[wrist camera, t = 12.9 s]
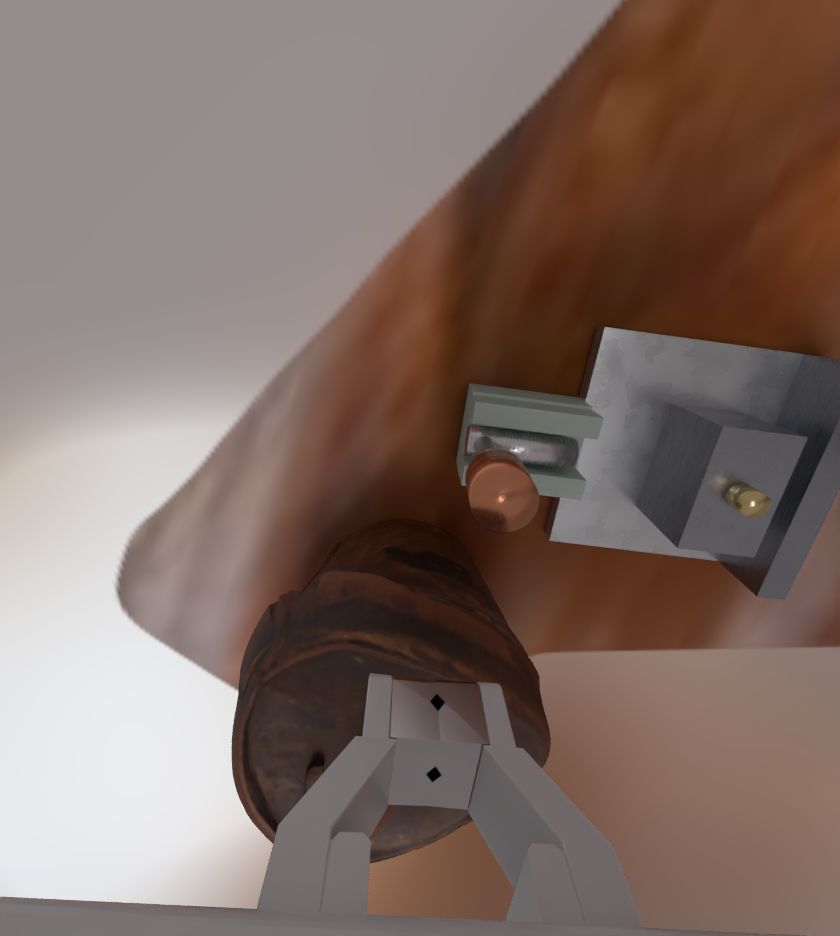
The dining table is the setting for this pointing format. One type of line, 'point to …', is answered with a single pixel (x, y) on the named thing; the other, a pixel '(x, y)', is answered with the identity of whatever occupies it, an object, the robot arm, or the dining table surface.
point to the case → (371, 669)
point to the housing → (718, 478)
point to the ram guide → (532, 429)
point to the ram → (510, 473)
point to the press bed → (712, 386)
